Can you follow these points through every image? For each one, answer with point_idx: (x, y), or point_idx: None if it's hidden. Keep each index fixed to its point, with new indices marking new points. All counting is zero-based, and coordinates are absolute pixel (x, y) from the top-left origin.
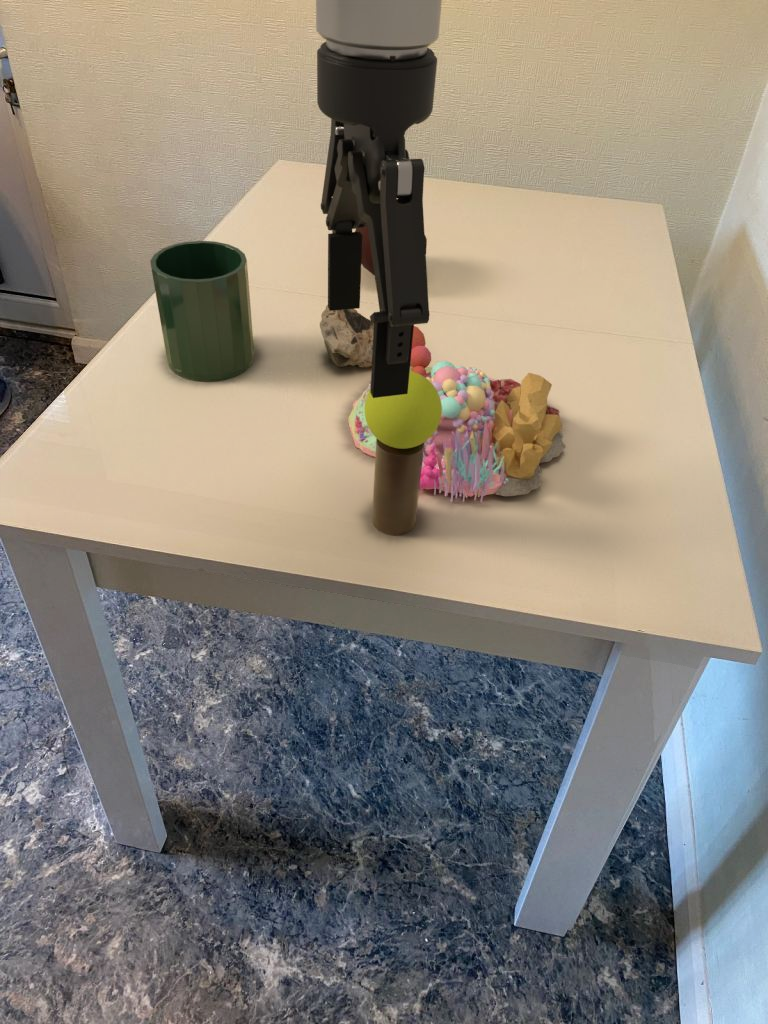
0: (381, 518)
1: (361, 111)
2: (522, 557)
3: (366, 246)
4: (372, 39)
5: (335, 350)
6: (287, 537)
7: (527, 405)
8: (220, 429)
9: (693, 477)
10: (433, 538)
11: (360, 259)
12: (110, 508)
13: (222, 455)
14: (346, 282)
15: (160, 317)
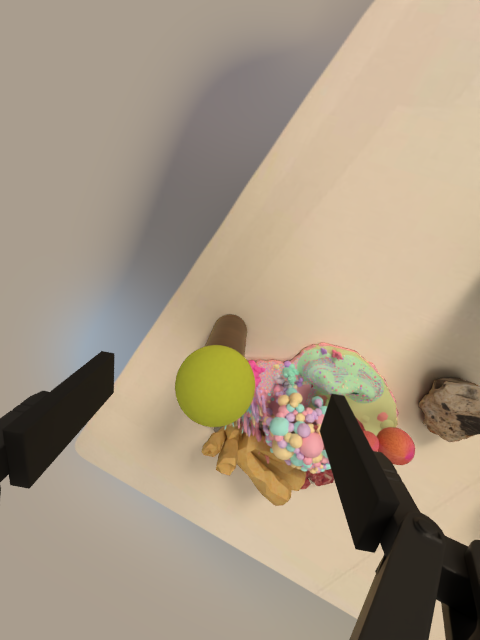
0: (220, 320)
1: None
2: (165, 387)
3: None
4: None
5: (445, 385)
6: (245, 247)
7: (258, 476)
8: (411, 241)
9: (191, 510)
10: (202, 345)
11: (340, 497)
12: (352, 99)
13: (372, 230)
14: (337, 445)
15: None
